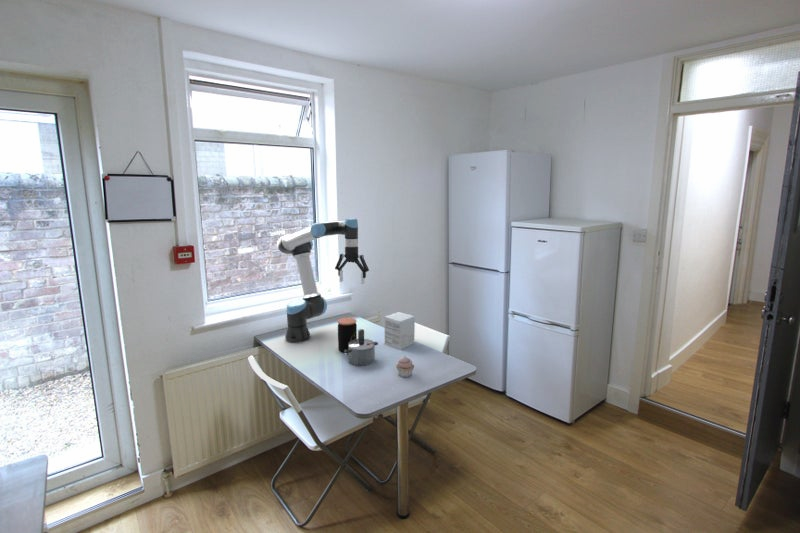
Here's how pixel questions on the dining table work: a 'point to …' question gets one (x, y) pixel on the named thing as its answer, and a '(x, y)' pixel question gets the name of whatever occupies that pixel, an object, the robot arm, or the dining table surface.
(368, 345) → the lid
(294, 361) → the dining table surface
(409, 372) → the cupcake
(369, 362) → the pot
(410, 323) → the supplement box
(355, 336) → the coffee jar
